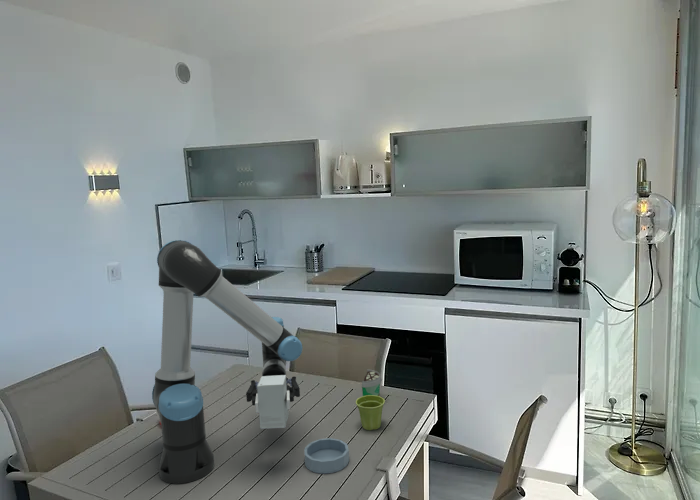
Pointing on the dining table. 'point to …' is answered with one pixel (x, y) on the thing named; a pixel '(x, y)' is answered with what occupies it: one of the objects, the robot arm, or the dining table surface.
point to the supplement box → (272, 401)
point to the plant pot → (370, 411)
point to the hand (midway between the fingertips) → (272, 406)
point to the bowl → (326, 455)
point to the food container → (371, 383)
